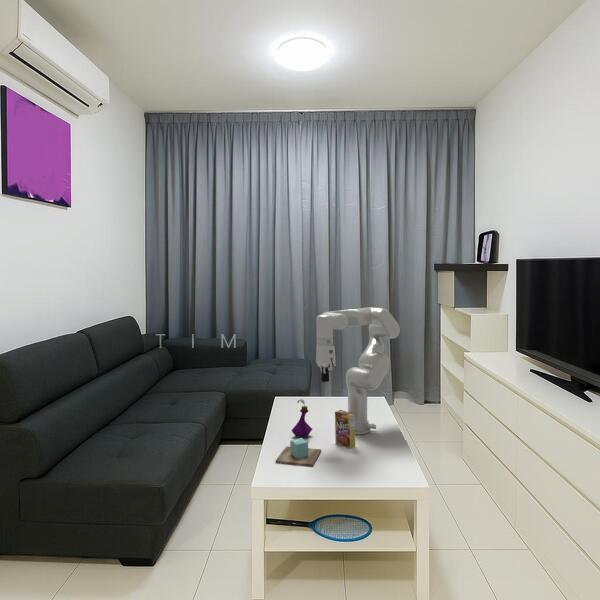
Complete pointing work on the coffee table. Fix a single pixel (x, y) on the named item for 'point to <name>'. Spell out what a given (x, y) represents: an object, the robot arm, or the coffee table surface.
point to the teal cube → (299, 448)
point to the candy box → (345, 428)
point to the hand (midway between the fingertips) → (325, 381)
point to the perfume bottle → (302, 424)
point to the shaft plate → (303, 461)
